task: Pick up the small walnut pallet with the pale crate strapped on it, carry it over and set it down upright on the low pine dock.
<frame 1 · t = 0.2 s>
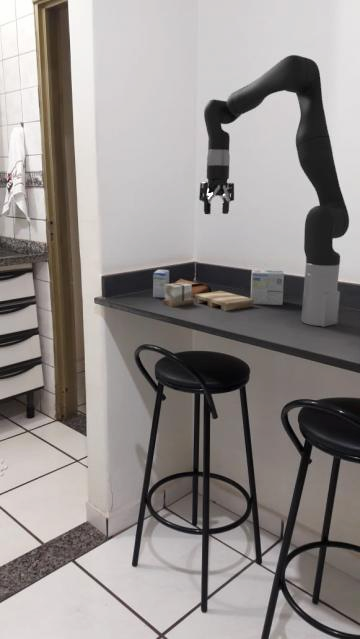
hand: (216, 213, 176), 29 cm above the counter, tool pointing down, fingers open, 8 cm apart
dock: (223, 304, 171), on the counter
medicine box: (161, 295, 183), on the counter
light bulb box: (265, 303, 174), on the counter
sunglasses case: (187, 293, 190), on the counter
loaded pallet: (178, 303, 170), on the counter
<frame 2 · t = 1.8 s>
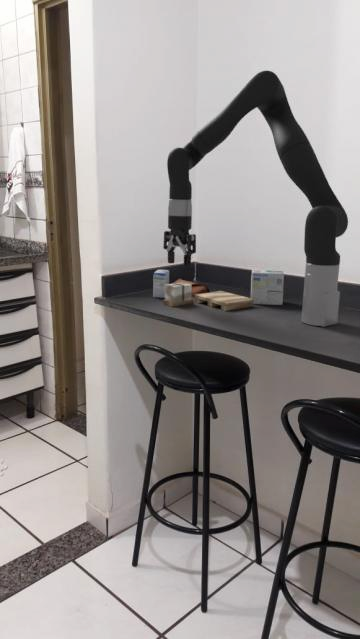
hand: (178, 264, 167), 13 cm above the counter, tool pointing down, fingers open, 8 cm apart
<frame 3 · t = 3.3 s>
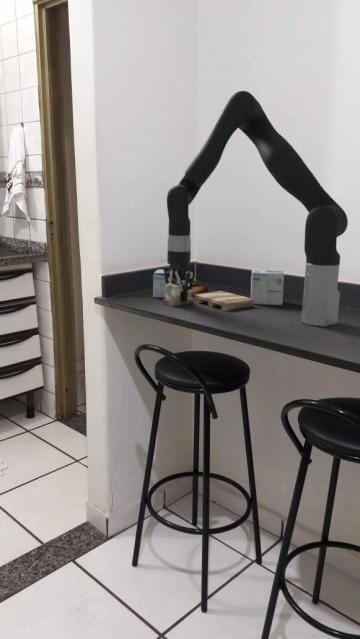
hand: (178, 300, 170), 1 cm above the counter, tool pointing down, fingers closed on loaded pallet, 5 cm apart
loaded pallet: (178, 303, 170), on the counter, touching gripper
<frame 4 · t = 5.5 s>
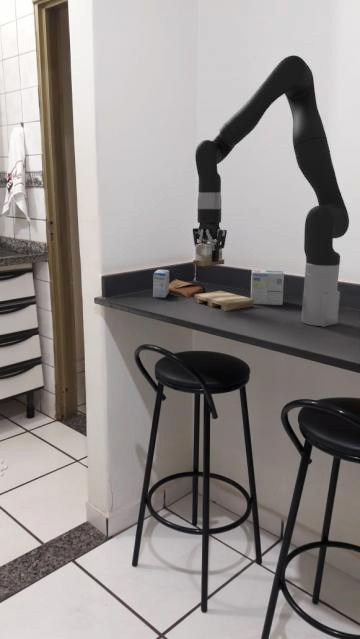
hand: (208, 261, 166), 14 cm above the counter, tool pointing down, fingers closed on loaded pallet, 5 cm apart
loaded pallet: (208, 264, 166), point 13 cm above the counter, touching gripper
when the fingers open (4 cm above the counter, at t = 7.9 s): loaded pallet stays where it is, resting on dock.
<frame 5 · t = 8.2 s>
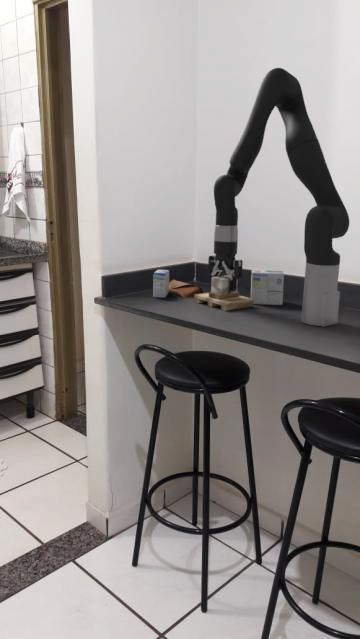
hand: (223, 289, 169), 5 cm above the counter, tool pointing down, fingers open, 8 cm apart
sunglasses case: (179, 294, 188), on the counter
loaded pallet: (223, 296, 170), point 2 cm above the counter, touching dock
everything else where it was.
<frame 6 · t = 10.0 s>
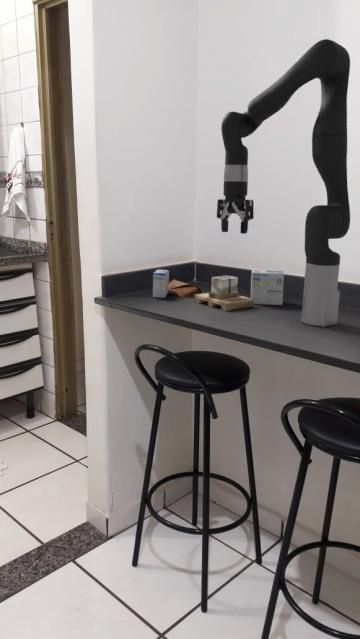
hand: (234, 232, 165), 23 cm above the counter, tool pointing down, fingers open, 8 cm apart
nothing on the counter moved.
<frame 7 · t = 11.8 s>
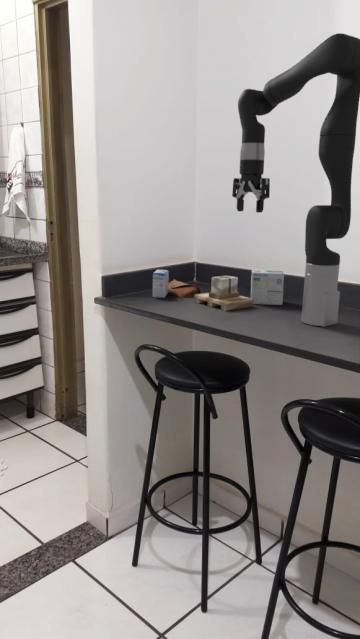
hand: (249, 211, 165), 30 cm above the counter, tool pointing down, fingers open, 8 cm apart
nothing on the counter moved.
at the end: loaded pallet inside the target area on the dock (0.1 cm from its centre), point 2.5 cm above the dock's base; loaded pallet tilted 0°; the gripper is holding nothing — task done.
